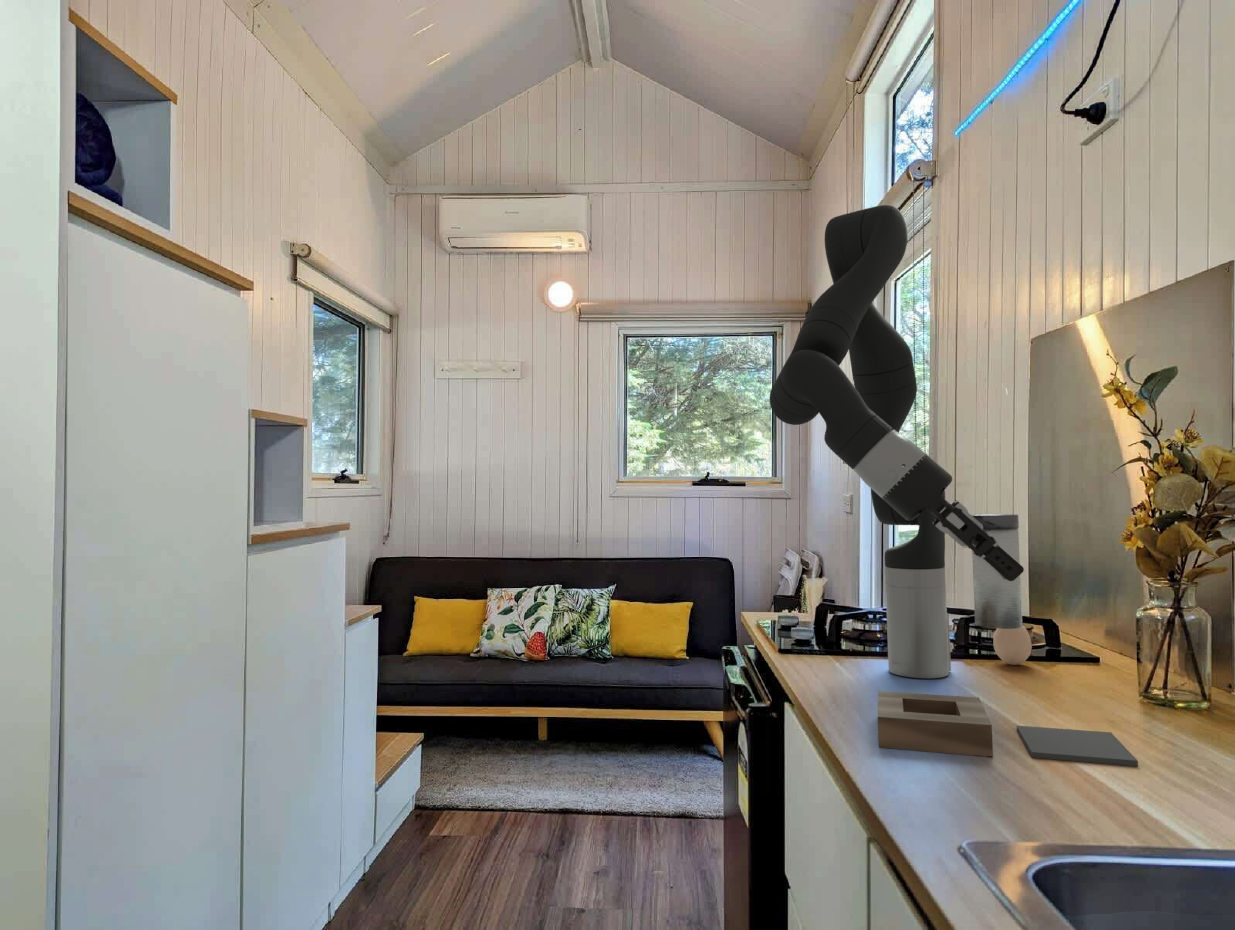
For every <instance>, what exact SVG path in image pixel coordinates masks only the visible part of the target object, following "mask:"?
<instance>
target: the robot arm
mask: <svg viewBox="0 0 1235 930" xmlns="http://www.w3.org/2000/svg"><path fill="white" fill-rule="evenodd" d="M907 246H908V229H907V223H906V221H905V218H904V216H903V214H902V212H901V210H900V209H898V207H896V206H894V205H893V204H880V205H877V206H876V205H875V206H872V207H871V206H870V207H867V208H864V209H860V210H856V211H852V212H849V213H844V214H841V215H837V216H834V217H832V218H831V219H830V220H829V221H828V222H827V223H826V226H825V229H824V248H825V249H824V250H825V255H826V261H827V266H828V269H829V272H830V276H831V279H832V284H831V286H829V287H828V288H827V289H826V290H825V291H824V292H822V294H821V295H819V297H818V298H817V299H816V300H815V302H814V303H813V304H812V306H811V307H810V308H809V311H808V313H807V315H806V317H805V318H804V321H803V323H802V325H801V327H800V329H799V332H798V333H797V337H796V340H795V343H794V345H793V348H792V350H791V352H790V354H789V356H788V358H787V360H786V361H785V363H784V365H783V366H782V368H781V371H780V372H779V374H778V376H777V377H776V380H775V381H774V383H773V385H772V387H771V389H770V392H769V404H770V408H771V410H772V412H773V414H774V415H775V417H776V418H777V419H778V420H780V421H781V422H783V423H785V424H787V425H793V426H795V425H796V426H799V425H800V426H801V425H803V424H807V423H809V422H810V421H812V420H814V419H815V417H817V415H820V416H821V418H822V419H823V421H824V422H825V432H824V439H823V440H824V442H825V445H826V446H827V447H828V449H830V450H831V451H832V453H834V454H835V455H836V456H837V457H838V458H839V459H841V460H842V462H844V463H845V464H846V465H847V466H848V467H850V468H851V470H853V471H854V472H855V473H856V475H858V477H860V478H861V480H862V481H863V483H865V485H867V486H868V487H869V488H870V495H871V503H872V507H873V510H874V513H875V516H876V518H877V519H878V522H880V523H881V524H883V525H888V526H918V532H917V534H916V535H915V536H914V537H913V538H912V539H910V540H908V541H906V542H904V543H902V544H899V545H895V546H892V547H889V548H888V549H886V550H885V552H884V566H885V567H884V577H885V580H884V581H885V599H886V600H885V603H886V629H887V630H886V631H887V633H886V634H887V636H886V637H887V661H888V672H890V673H891V674H894V675H896V676H901V677H906V678H914V679H940V678H945V677H947V676H949V675H950V672H951V671H952V666H951V664H952V663H951V660H952V659H951V638H950V637H951V636H950V635H951V633H950V614H949V613H948V612H947V611H948V609H947V589H946V587H947V586H946V569H945V568H946V566H945V565H946V564H945V563H946V562H945V561H946V560H945V557H946V536H945V534H947V535H948V536H949V537H950V538H951V539H953V540H954V541H955V542H956V543H957V544H958V545H959V546H960V547H962V548H963V549H969V550H971V551H972V550H973V551H974V554H975V555H976V556H978V557H979V558H982V559H983V560H986V561H987V562H988V563H989V564H990V565H991V566H992V567H993V568H995V569H996V570H997V571H998V572H999V573H1000V574H1001V575H1003V576H1004V577H1005V578H1006V579H1007V580H1008V581H1014V580H1015V579H1016V578H1017V577H1018V576H1019V575H1020V576H1021V575H1022V573H1024V571H1025V570H1024V567H1023V566H1022V565H1021V563H1020V564H1019V563H1018V562H1017V561H1015V560H1014V559H1013V558H1012V557H1011V556H1010V555H1009V554H1007V553H1006V552H1005V551H1004V550H1003V549H1002V548H1000V547H999V544H997V541H996V540H995V539H994V538H993V537H992V536H991V537H990V536H989V535H988V534H987V533H985V527H984V526H983V525H982V524H981V523H980V522H979V521H977V520H976V519H975V518H974V517H973V516H972V515H973V514H970V513H969V509H967V507H966V506H965V505H964V504H962V503H961V502H960V501H959V500H956V499H955V500H953V502H952V503H950V502H949V501H948V500H947V499H946V489H947V488H948V487H949V486H950V485H951V484H952V481H953V476H952V475H951V474H950V473H949V472H948V471H946V469H944V468H943V467H942V466H941V465H939V464H938V463H937V462H936V461H935V460H934V459H932V458H931V457H930V456H929V455H928V454H927V453H926V452H924V451H923V450H922V449H921V448H919V446H918V445H916V444H915V443H913V442H912V441H911V440H910V439H909V438H907V437H906V436H904V435H902V434H901V433H900V431H901V429H902V427H903V425H904V423H905V421H906V419H907V417H908V415H909V413H910V412H911V409H912V407H913V406H914V402H915V400H916V396H917V391H918V385H917V377H916V371H915V366H914V360H913V355H912V350H911V348H910V346H909V345H908V343H907V342H906V340H905V339H904V338H903V336H902V335H901V334H900V333H899V332H898V331H897V329H896V328H895V327H894V326H893V325H892V324H891V323H890V322H889V321H888V320H887V319H886V318H885V317H884V315H883V314H882V313H881V312H880V311H879V310H878V308H877V307H876V306H875V304H874V300H875V299H876V298H877V297H878V295H879V294H880V292H881V291H882V290H883V288H884V287H885V285H886V284H887V282H888V281H889V279H890V278H891V277H892V275H893V273H895V271H896V270H897V268H898V267H899V265H900V263H901V262H902V260H903V258H904V255H905V254H906V250H907ZM847 354H849V361H850V365H851V366H850V367H851V372H852V373H851V374H852V381H853V383H852V382H851V380H850V379H849V377H848V376H847V375H846V373H845V372H844V370H843V369H842V368H841V367H840V365H842V364H841V363H842V362H843V361H844V359H845V357H846V355H847ZM853 384H854V385H853ZM978 536H983V537H984V539H983V540H982V541H981V542H980V543H979V544H977V545H976V546H975V547H976V548H975V547H974V546H973V545H972V542H973V541H974V540H975V539H976V538H977V537H978ZM995 547H996V548H995Z"/></svg>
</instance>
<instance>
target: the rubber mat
mask: <svg viewBox="0 0 1235 930" xmlns="http://www.w3.org/2000/svg"><path fill="white" fill-rule="evenodd" d="M1016 732H1017V733H1018V735H1019V737H1020V739H1021V742H1022V743H1023V745H1024V746H1025V748H1026V749H1027V750H1026V751H1028V753H1029V755H1030V757H1031V758H1034V759H1035V758H1036V759H1043V760H1044V759H1046V760H1056V761H1057V760H1059V761H1068V762H1069V761H1071V762H1080V763H1081V762H1082V763H1095V764H1107V765H1118V766H1130V767H1139V761H1138V759H1137V758H1136V757H1135V756H1134V755H1133V754H1132V753H1131V752H1130V750H1128V749H1127V748H1126V746H1124V744H1122V742H1121V741H1120V740H1119V739H1118V738H1117V737H1116V736H1115V735H1114V734H1113V733H1112V731H1111V732H1110V731H1098V730H1097V731H1096V730H1083V729H1070V728H1068V729H1067V728H1055V727H1042V726H1028V725H1016Z"/></svg>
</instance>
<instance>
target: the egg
mask: <svg viewBox="0 0 1235 930" xmlns="http://www.w3.org/2000/svg"><path fill="white" fill-rule="evenodd" d="M995 629H996V630H995V632H994V633H993V643H992V644H993V648H994V649H993V650H994V651H995V654H996V655H997V656H998V658H999V659H1000V660H1001V661H1003V662H1004V663H1005V664H1007V665H1011V666H1018V665H1021V664H1023V663H1025V662H1026V660H1028V659H1029V657H1030V655H1031V653H1032V645H1033V644H1032V639H1031V635H1030V634H1029V631H1028V629H1027V628H1026V627H1025V626H1024V625H1023V624H1022V627H1021V628H1014V629H998V628H995Z"/></svg>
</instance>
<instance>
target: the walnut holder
mask: <svg viewBox="0 0 1235 930" xmlns="http://www.w3.org/2000/svg"><path fill="white" fill-rule="evenodd" d="M877 732H878V733H877V737H878V738H877V739H878V743H877V745H878V748H883V749H894V750H895V749H896V750H905V751H907V750H908V751H909V750H910V751H918V752H919V751H920V752H928V753H929V752H930V753H941V754H955V755H964V756H966V755H967V756H975V755H982V756H981V757H986V756H992V757H991V758H993V757H994V749H993V748H994V747H993V726H992V723H991V721H990V718H989V716H988V714H987V712H986V710H985V708H984V705H983V704H982V701H981V699H980V697H979V696H977V697H976V696H963V695H962V696H961V695H949V694H947V695H946V694H945V695H944V694H932V693H931V694H929V693H928V694H927V693H916V692H915V693H913V692H901V691H900V692H896V691H882V690H881V691H880V690H878V694H877Z"/></svg>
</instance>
